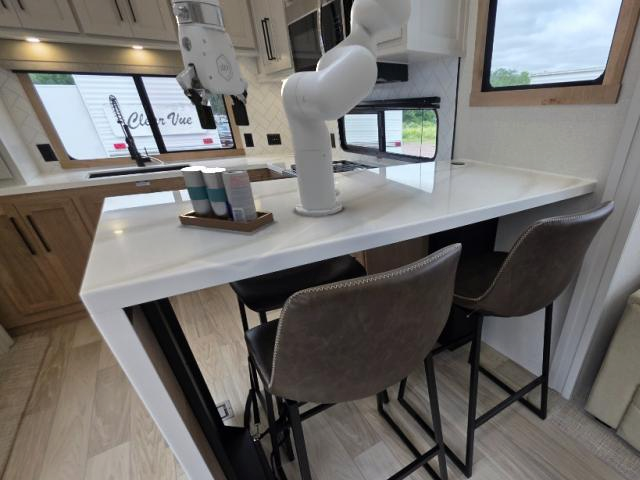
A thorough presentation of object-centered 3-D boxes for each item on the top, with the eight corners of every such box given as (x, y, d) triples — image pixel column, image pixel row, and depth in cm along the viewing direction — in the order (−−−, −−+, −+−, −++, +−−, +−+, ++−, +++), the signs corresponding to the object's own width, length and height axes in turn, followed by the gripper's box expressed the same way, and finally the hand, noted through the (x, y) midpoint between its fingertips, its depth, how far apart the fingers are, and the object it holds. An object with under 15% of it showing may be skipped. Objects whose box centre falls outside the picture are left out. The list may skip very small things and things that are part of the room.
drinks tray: (210, 215, 86) (207, 205, 85) (274, 222, 82) (272, 212, 81) (181, 226, 79) (178, 215, 77) (250, 234, 74) (247, 223, 73)
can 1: (208, 216, 84) (193, 166, 78) (224, 218, 83) (211, 167, 77) (192, 222, 80) (175, 169, 74) (209, 224, 79) (193, 171, 73)
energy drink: (249, 219, 82) (237, 168, 76) (263, 223, 80) (252, 170, 73) (230, 225, 78) (215, 172, 72) (244, 229, 76) (231, 174, 69)
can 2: (226, 218, 83) (212, 167, 77) (243, 220, 82) (231, 168, 75) (211, 224, 79) (195, 171, 72) (229, 226, 77) (214, 172, 71)
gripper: (177, 8, 51) (210, 131, 60) (249, 27, 65) (268, 124, 74) (140, 11, 53) (178, 130, 62) (218, 29, 67) (240, 124, 76)
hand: (227, 127), depth 68 cm, fingers open, 9 cm apart
